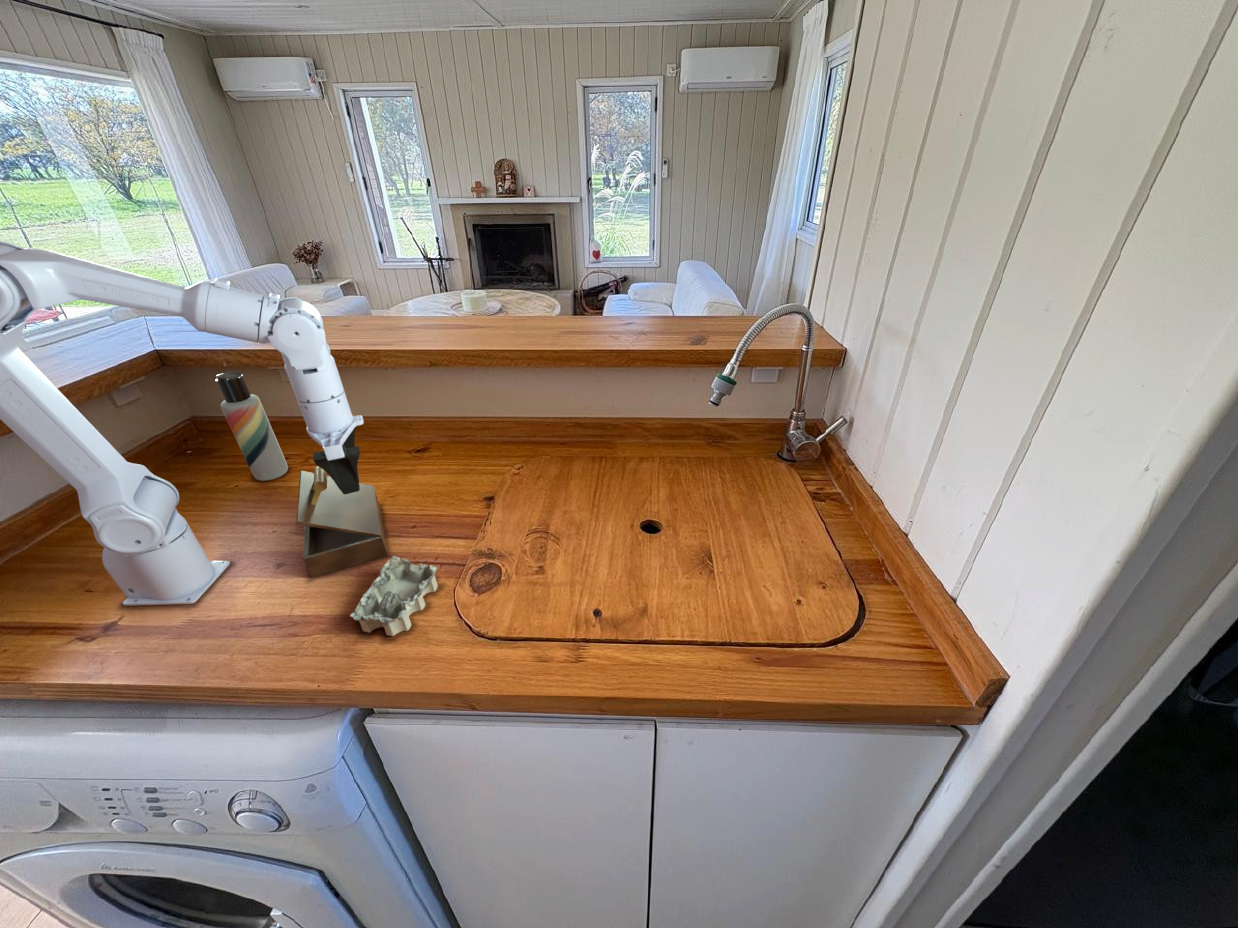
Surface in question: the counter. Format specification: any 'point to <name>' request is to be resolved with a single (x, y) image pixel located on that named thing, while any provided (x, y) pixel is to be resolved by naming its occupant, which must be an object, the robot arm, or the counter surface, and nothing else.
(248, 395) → the lotion bottle
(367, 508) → the lid
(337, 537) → the compartment
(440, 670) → the counter surface
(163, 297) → the robot arm
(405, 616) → the egg carton
